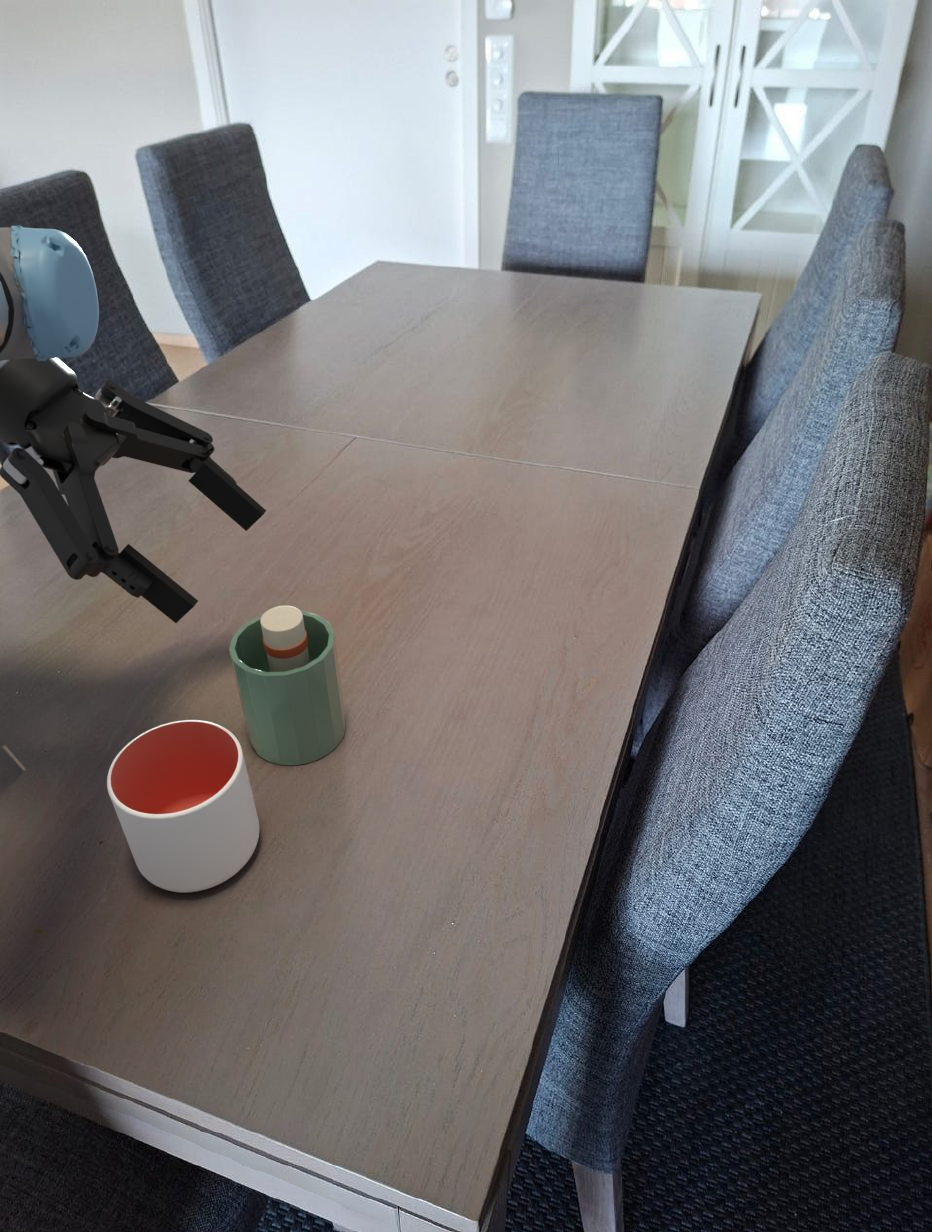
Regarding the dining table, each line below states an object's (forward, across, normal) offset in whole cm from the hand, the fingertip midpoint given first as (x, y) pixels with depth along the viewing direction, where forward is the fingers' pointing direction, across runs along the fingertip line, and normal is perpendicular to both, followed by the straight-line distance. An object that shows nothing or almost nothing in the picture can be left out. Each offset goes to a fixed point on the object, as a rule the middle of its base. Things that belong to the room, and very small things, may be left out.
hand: (224, 563), depth 72 cm
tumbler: (+16, 0, -10) cm, 19 cm away
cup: (+14, +14, -13) cm, 24 cm away
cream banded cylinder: (+16, 0, -10) cm, 19 cm away
